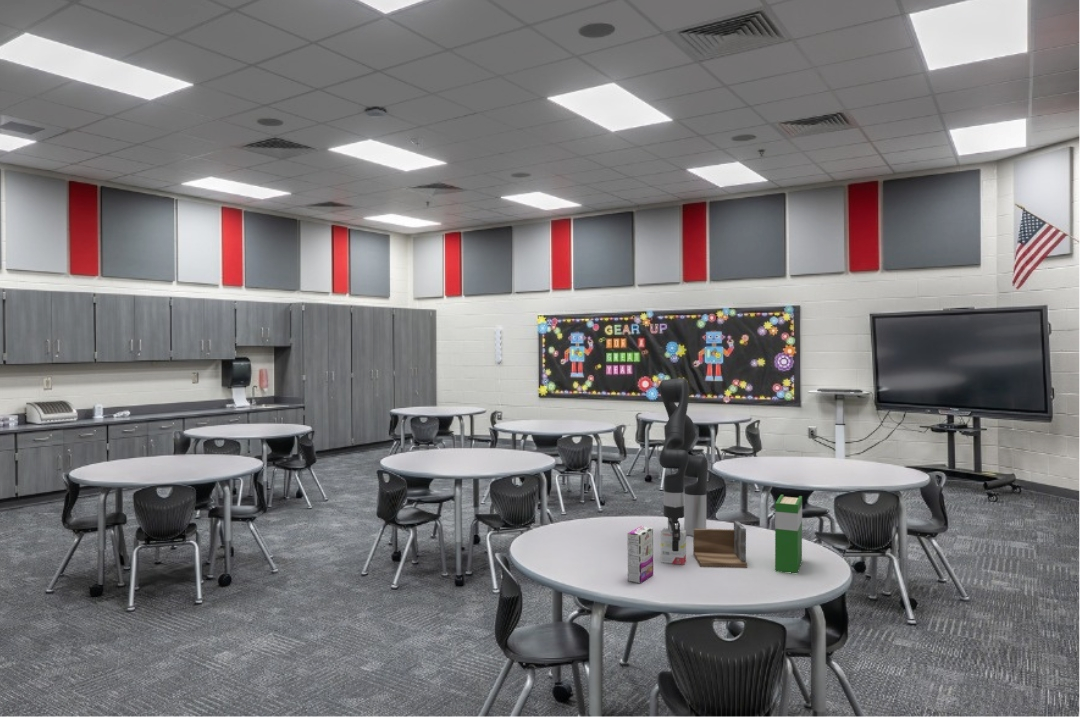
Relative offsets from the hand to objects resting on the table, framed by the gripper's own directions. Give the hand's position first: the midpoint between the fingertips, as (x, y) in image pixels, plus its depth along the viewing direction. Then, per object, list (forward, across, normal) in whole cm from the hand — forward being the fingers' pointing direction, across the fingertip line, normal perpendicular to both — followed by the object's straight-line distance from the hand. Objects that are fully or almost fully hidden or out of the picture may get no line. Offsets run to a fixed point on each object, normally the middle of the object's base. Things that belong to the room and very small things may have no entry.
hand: (673, 547), depth 253 cm
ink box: (+5, 0, 0) cm, 5 cm away
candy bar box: (+5, +20, -14) cm, 25 cm away
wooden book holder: (+5, -2, +17) cm, 18 cm away
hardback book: (+5, +2, +41) cm, 41 cm away
